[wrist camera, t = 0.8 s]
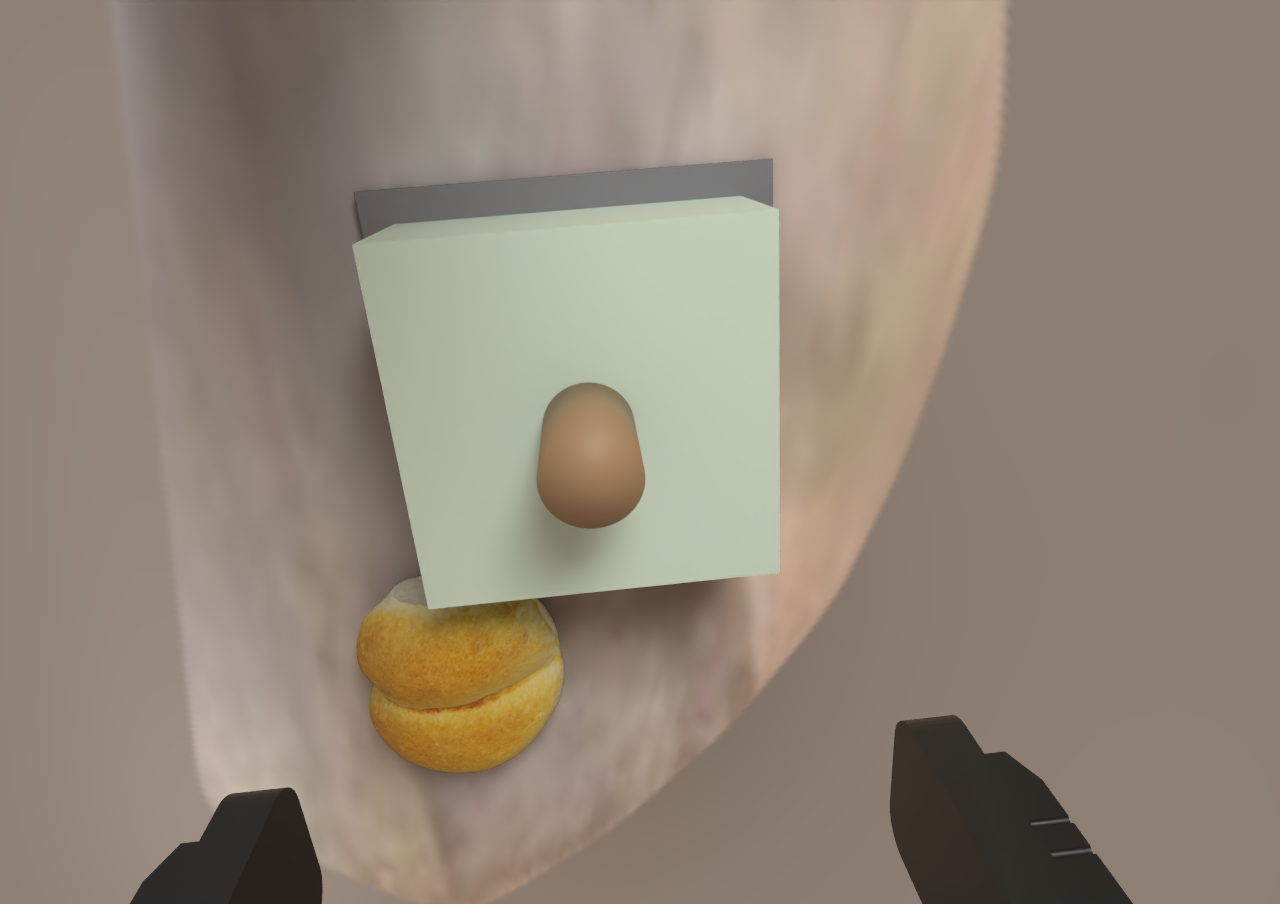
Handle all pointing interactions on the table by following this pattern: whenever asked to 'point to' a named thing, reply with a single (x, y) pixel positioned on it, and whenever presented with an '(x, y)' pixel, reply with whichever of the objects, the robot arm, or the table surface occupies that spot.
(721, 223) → the cover
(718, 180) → the mat
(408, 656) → the bread roll
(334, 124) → the table surface
